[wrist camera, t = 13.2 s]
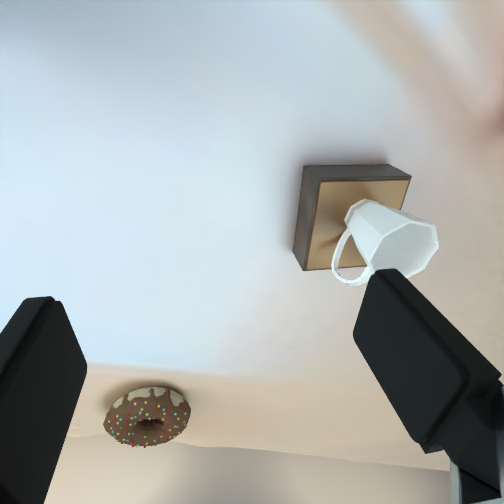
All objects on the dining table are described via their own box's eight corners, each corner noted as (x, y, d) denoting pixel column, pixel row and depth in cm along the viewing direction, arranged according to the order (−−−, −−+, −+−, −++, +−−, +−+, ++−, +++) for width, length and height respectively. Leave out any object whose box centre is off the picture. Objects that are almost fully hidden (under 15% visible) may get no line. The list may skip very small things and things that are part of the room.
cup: (403, 208, 34) (454, 244, 28) (341, 268, 38) (374, 313, 31) (366, 174, 31) (414, 204, 24) (303, 243, 35) (330, 286, 28)
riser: (303, 165, 35) (318, 178, 31) (389, 164, 36) (413, 176, 32) (292, 252, 41) (303, 272, 37) (366, 247, 43) (383, 266, 39)
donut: (148, 369, 49) (144, 398, 45) (204, 399, 56) (205, 426, 52) (90, 410, 52) (81, 440, 48) (150, 433, 59) (147, 461, 55)
